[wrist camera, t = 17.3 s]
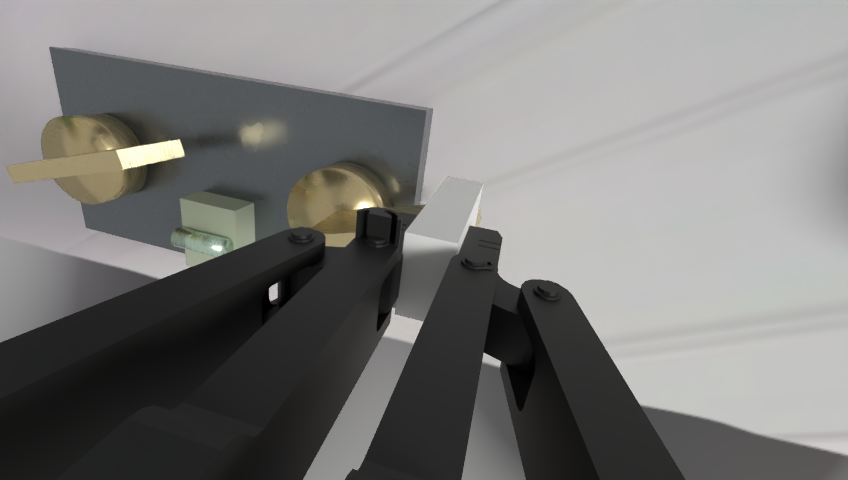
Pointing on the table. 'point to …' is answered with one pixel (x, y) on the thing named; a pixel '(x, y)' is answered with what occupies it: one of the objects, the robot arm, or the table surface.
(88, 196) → the far knob
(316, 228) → the near knob
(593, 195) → the table surface
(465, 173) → the table surface
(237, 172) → the level plate
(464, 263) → the robot arm
